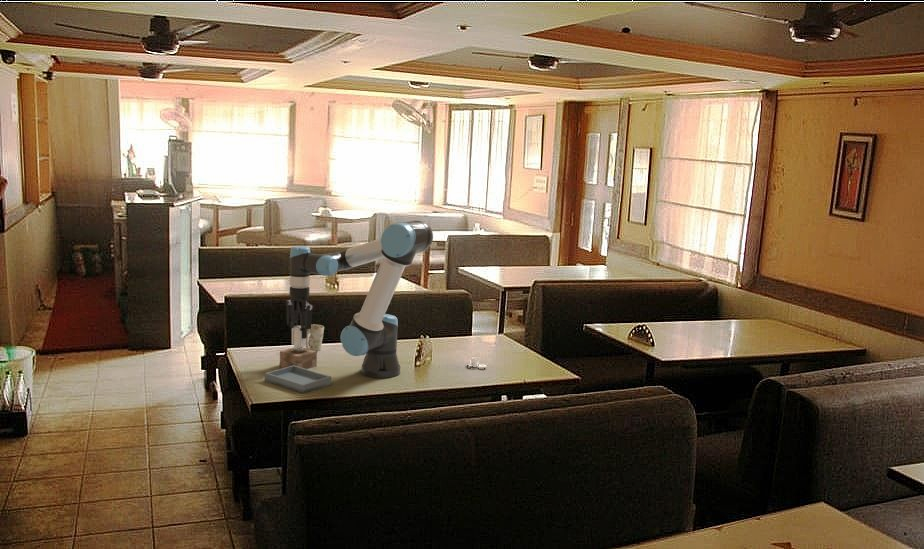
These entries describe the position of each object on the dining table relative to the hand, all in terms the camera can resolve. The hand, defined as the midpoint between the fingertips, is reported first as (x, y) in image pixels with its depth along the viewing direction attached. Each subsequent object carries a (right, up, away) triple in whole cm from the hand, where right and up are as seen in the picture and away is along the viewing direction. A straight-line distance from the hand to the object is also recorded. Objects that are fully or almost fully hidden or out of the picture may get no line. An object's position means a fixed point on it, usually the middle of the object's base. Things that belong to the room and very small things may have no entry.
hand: (298, 345), depth 297 cm
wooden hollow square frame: (0, -8, +1) cm, 9 cm away
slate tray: (+4, -12, -18) cm, 22 cm away
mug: (+1, -5, +24) cm, 24 cm away
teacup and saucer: (+69, -11, +10) cm, 71 cm away
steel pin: (-1, -8, +1) cm, 9 cm away
